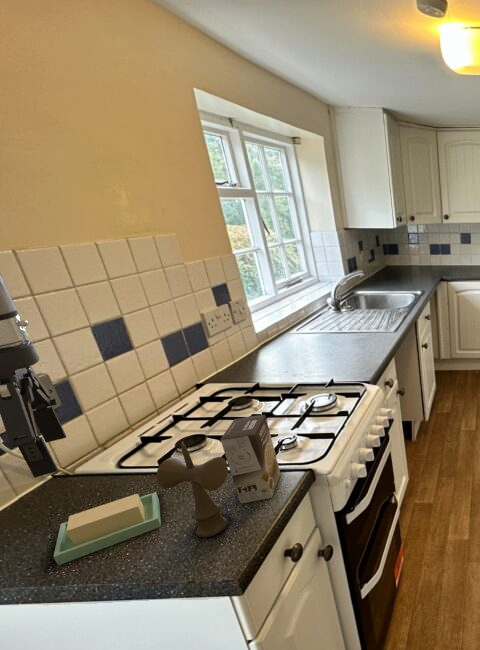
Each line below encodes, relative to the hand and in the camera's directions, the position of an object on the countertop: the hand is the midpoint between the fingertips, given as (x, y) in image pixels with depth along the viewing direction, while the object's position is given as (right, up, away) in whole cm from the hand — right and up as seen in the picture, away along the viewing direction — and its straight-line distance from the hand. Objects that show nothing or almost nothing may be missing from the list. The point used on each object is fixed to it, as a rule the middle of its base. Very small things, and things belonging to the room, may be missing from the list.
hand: (51, 455), depth 74 cm
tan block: (+5, -15, +7) cm, 17 cm away
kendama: (+24, -16, +7) cm, 30 cm away
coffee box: (+27, -11, +18) cm, 34 cm away
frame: (+5, -16, +7) cm, 18 cm away
